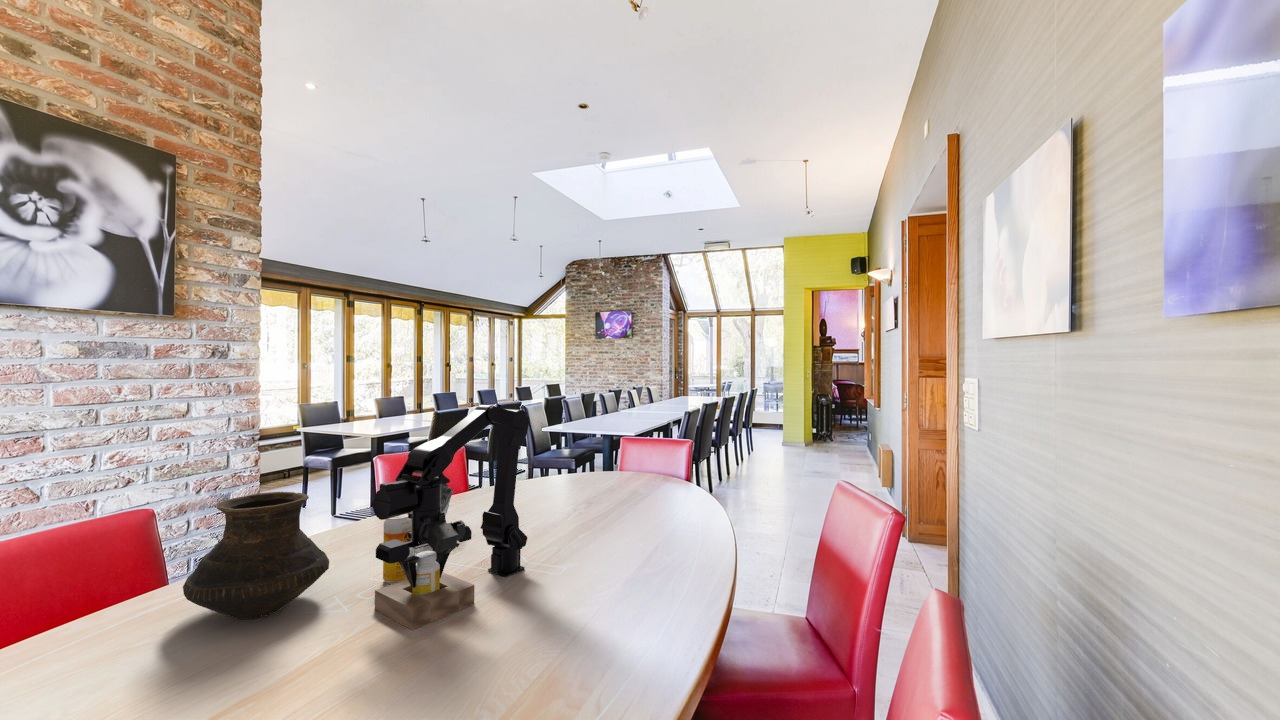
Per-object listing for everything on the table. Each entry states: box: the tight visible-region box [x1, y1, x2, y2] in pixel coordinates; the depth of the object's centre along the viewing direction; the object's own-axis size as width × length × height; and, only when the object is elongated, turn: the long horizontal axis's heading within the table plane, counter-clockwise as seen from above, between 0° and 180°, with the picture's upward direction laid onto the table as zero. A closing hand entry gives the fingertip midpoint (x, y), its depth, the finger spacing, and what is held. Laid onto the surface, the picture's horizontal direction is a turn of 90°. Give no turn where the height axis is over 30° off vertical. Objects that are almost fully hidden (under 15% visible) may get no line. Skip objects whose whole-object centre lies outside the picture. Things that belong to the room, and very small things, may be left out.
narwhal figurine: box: [441, 483, 454, 516], centre depth 157 cm, size 14×15×18 cm
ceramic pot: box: [182, 491, 330, 620], centre depth 109 cm, size 24×24×22 cm
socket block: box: [374, 571, 475, 631], centre depth 111 cm, size 14×14×4 cm
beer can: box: [382, 513, 412, 585], centre depth 125 cm, size 6×6×15 cm
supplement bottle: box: [412, 550, 440, 597], centre depth 111 cm, size 5×5×10 cm
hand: (425, 582), depth 111 cm, fingers closed on supplement bottle, 5 cm apart
